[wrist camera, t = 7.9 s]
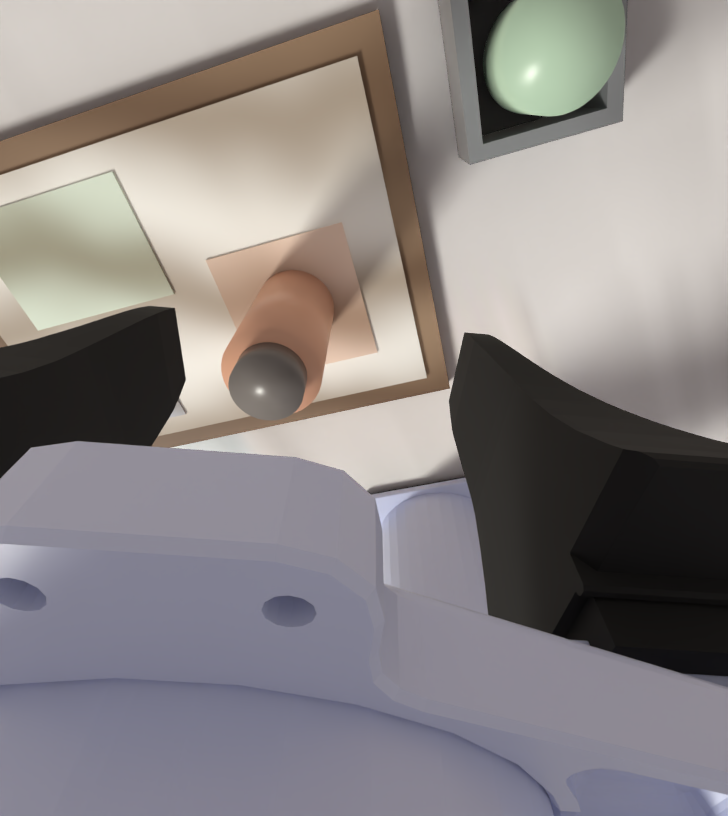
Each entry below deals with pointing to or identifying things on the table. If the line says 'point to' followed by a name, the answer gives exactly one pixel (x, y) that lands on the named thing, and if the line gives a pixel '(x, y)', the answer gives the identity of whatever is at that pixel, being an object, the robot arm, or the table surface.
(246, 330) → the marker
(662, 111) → the table surface
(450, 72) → the button housing
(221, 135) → the beige flat tray
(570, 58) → the button
